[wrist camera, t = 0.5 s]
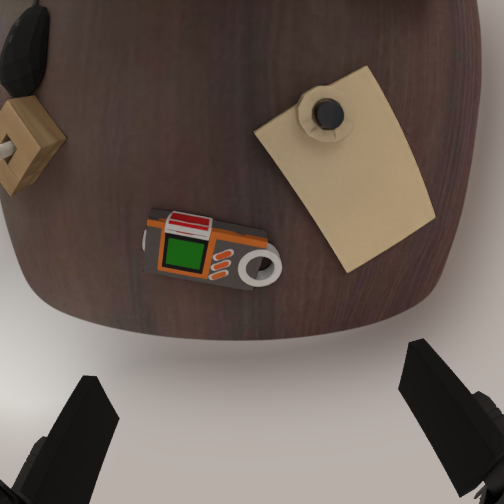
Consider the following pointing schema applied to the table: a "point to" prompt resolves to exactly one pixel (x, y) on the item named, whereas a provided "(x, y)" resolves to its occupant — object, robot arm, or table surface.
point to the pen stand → (26, 142)
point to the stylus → (7, 149)
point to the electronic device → (208, 251)
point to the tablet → (351, 168)
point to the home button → (329, 114)
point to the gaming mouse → (25, 52)
